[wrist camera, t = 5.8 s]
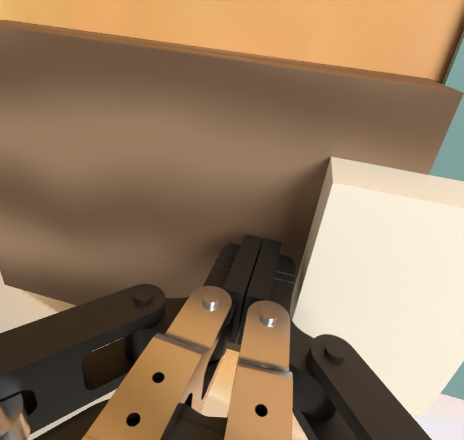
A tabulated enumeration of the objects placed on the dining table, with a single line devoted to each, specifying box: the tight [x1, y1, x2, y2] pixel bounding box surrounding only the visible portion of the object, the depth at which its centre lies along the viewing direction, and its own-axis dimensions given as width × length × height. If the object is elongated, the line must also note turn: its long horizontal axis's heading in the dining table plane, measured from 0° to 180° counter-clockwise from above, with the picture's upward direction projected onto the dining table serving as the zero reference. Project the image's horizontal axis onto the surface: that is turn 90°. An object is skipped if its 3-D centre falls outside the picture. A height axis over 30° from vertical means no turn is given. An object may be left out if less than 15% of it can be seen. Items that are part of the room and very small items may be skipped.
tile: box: [290, 157, 464, 417], centre depth 13 cm, size 9×6×2 cm, turn 172°
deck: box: [0, 20, 464, 352], centre depth 17 cm, size 14×20×4 cm
